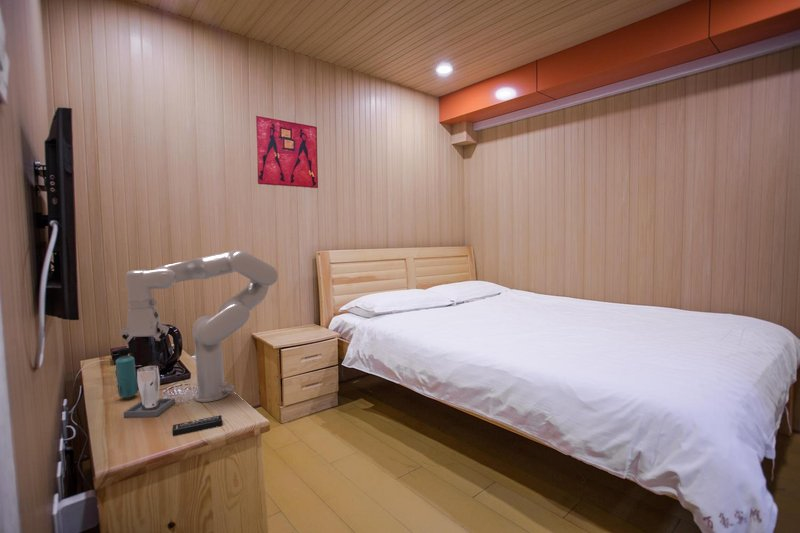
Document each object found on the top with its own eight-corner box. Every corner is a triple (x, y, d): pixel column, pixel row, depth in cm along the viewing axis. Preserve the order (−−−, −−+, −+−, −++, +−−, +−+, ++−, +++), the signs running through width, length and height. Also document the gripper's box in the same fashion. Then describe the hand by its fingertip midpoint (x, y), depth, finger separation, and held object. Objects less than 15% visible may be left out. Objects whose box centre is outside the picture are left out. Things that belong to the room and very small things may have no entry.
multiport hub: (222, 426, 139) (222, 419, 138) (172, 437, 132) (172, 430, 132) (221, 421, 143) (221, 414, 142) (173, 431, 136) (173, 424, 136)
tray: (175, 403, 158) (174, 398, 158) (156, 416, 147) (156, 411, 147) (144, 404, 158) (144, 398, 158) (124, 417, 147) (123, 412, 147)
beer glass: (146, 405, 156) (142, 366, 155) (165, 404, 156) (162, 364, 155) (135, 413, 149) (132, 372, 148) (156, 412, 149) (152, 371, 148)
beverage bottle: (142, 394, 168) (138, 345, 166) (130, 401, 161) (125, 350, 159) (127, 394, 168) (122, 346, 167) (114, 401, 162) (109, 350, 160)
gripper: (171, 301, 153) (176, 347, 154) (124, 303, 153) (129, 349, 155) (159, 305, 145) (164, 353, 147) (110, 307, 146) (115, 355, 147)
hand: (146, 351), depth 151 cm, fingers open, 9 cm apart
